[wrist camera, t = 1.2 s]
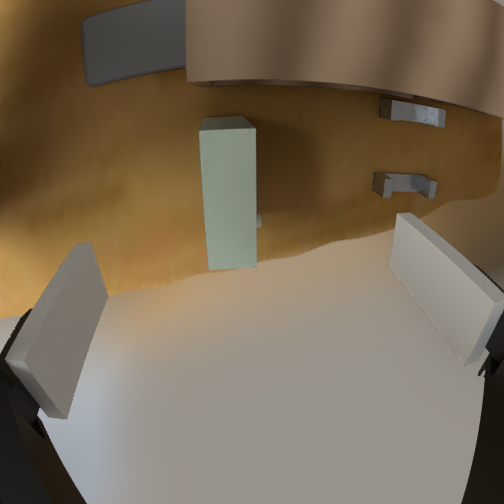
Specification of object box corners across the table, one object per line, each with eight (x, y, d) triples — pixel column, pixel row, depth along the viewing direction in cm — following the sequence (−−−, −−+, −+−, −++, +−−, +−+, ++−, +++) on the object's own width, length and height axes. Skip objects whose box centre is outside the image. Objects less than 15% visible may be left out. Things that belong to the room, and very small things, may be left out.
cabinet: (200, 86, 26) (186, 82, 13) (199, -2, 21) (187, -68, 9) (415, 99, 28) (512, 121, 15) (415, 23, 23) (511, 12, 11)
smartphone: (80, 18, 20) (239, -13, 21) (84, 20, 21) (239, -10, 21) (85, 88, 24) (245, 60, 24) (89, 88, 24) (245, 61, 25)
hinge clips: (372, 189, 32) (382, 197, 30) (379, 98, 27) (391, 99, 25) (422, 191, 33) (434, 198, 31) (432, 107, 28) (446, 110, 26)
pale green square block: (209, 217, 32) (208, 270, 23) (204, 117, 27) (199, 131, 18) (253, 214, 32) (269, 266, 24) (253, 115, 27) (271, 128, 19)
